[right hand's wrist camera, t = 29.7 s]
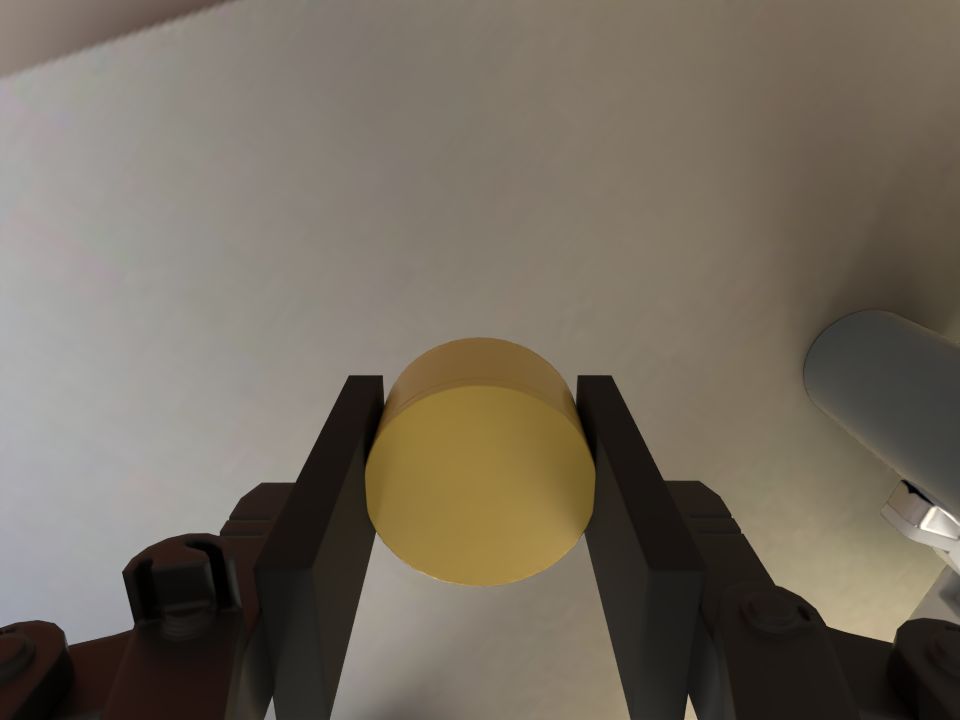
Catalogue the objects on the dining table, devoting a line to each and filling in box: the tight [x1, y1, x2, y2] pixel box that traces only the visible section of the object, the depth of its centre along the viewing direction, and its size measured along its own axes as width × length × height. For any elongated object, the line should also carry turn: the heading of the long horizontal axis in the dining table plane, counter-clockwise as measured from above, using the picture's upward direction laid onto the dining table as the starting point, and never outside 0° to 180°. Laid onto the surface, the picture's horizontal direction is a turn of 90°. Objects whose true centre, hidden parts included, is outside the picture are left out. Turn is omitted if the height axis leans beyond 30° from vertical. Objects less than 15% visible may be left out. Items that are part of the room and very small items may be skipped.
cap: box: [365, 338, 596, 586], centre depth 13 cm, size 4×4×3 cm
